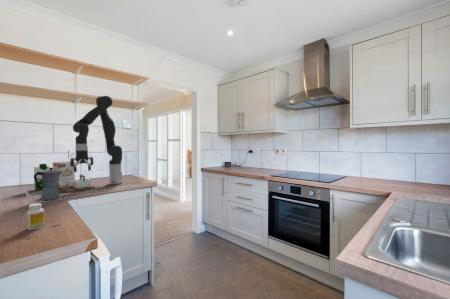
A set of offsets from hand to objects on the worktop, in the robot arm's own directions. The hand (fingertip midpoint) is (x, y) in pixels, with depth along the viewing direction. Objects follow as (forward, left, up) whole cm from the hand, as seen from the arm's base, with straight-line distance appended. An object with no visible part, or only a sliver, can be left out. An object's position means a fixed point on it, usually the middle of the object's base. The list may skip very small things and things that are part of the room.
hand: (82, 171), depth 161 cm
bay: (+5, 0, -14) cm, 15 cm away
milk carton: (+21, -21, -14) cm, 33 cm away
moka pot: (+22, +17, -14) cm, 31 cm away
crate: (0, 0, -13) cm, 13 cm away
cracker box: (+8, -19, -14) cm, 25 cm away
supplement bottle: (+32, +70, -14) cm, 78 cm away
